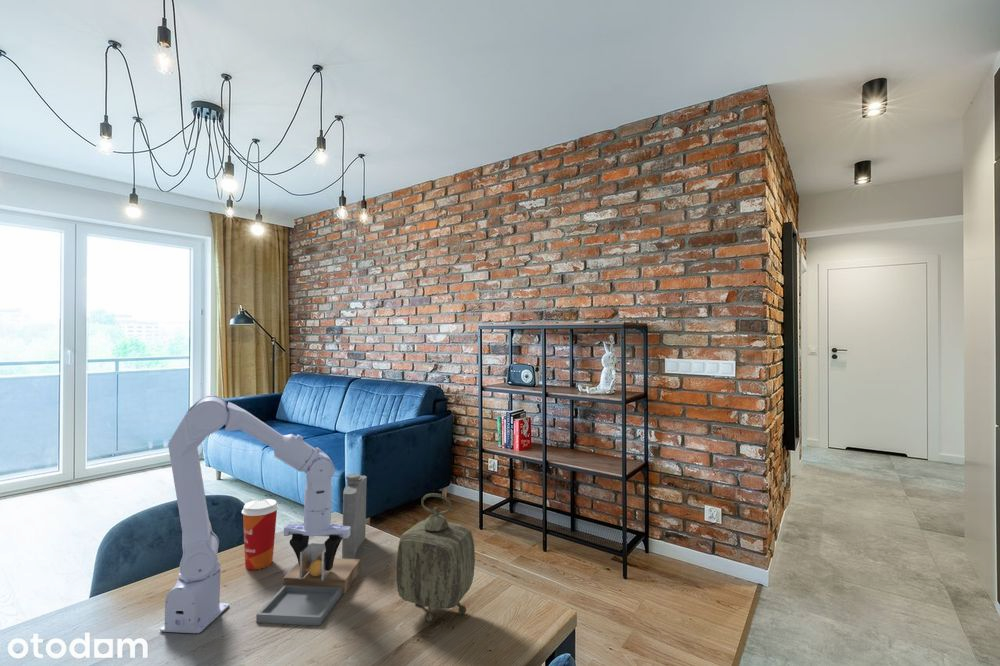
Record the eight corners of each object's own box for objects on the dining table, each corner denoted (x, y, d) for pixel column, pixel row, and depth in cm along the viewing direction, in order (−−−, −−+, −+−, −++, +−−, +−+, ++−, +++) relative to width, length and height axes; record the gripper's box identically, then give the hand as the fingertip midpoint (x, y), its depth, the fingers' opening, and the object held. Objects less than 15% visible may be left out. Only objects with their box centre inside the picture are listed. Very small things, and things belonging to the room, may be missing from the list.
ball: (328, 565, 109) (323, 579, 106) (314, 564, 109) (308, 579, 106) (325, 556, 107) (320, 571, 104) (310, 556, 107) (305, 571, 104)
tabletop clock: (474, 611, 99) (476, 492, 99) (455, 636, 91) (458, 506, 91) (413, 597, 104) (416, 483, 104) (390, 620, 96) (393, 496, 96)
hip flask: (353, 563, 119) (355, 484, 119) (336, 564, 118) (338, 484, 119) (366, 536, 135) (367, 466, 135) (351, 537, 134) (353, 466, 134)
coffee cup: (241, 559, 119) (242, 500, 120) (277, 554, 123) (278, 496, 123) (238, 575, 112) (240, 511, 112) (277, 568, 115) (278, 507, 115)
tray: (320, 625, 93) (320, 617, 93) (256, 622, 94) (256, 614, 94) (341, 594, 104) (342, 587, 105) (284, 592, 105) (284, 584, 105)
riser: (344, 594, 105) (344, 580, 105) (282, 591, 105) (283, 577, 105) (359, 571, 115) (360, 559, 115) (303, 569, 115) (303, 556, 115)
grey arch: (323, 580, 104) (324, 553, 104) (299, 579, 104) (299, 552, 104) (332, 568, 109) (333, 543, 109) (309, 568, 109) (310, 542, 109)
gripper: (355, 502, 110) (354, 560, 110) (294, 500, 111) (293, 558, 111) (344, 513, 103) (343, 576, 103) (279, 511, 104) (277, 573, 104)
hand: (316, 567), depth 106 cm, fingers closed on grey arch, 5 cm apart
